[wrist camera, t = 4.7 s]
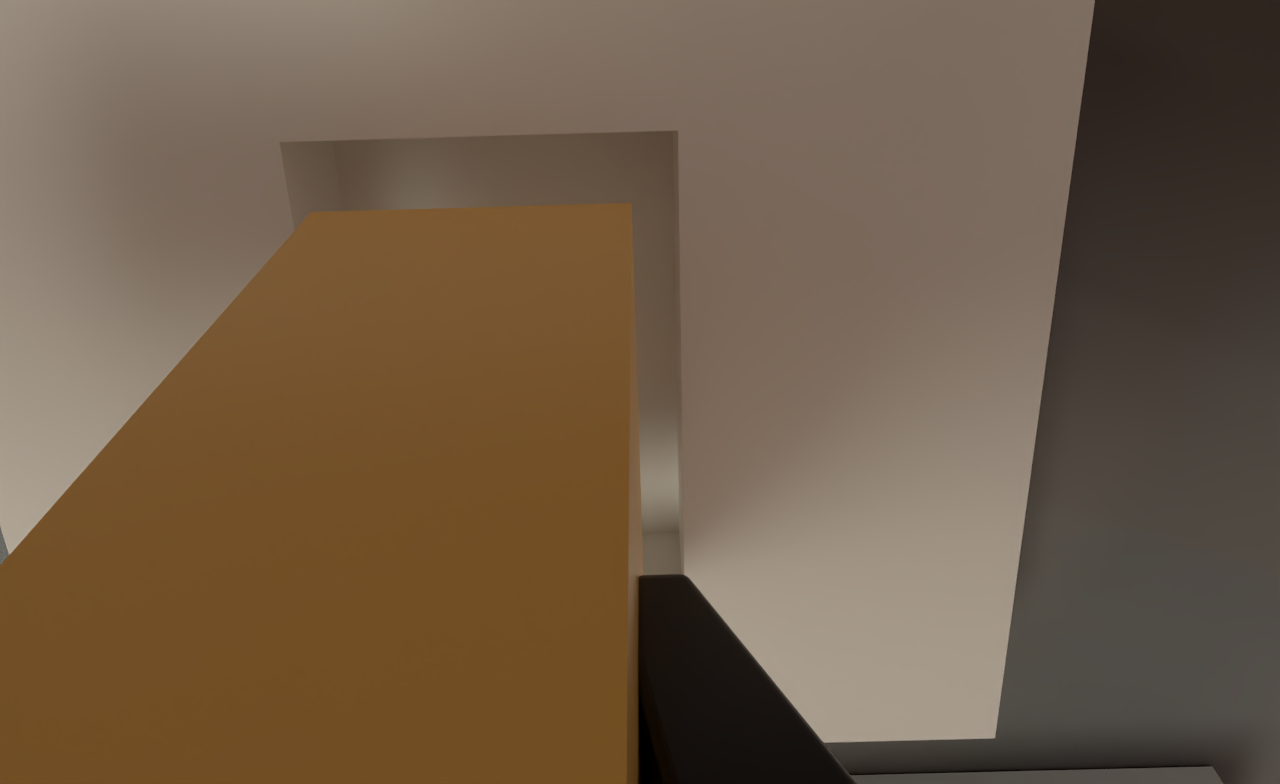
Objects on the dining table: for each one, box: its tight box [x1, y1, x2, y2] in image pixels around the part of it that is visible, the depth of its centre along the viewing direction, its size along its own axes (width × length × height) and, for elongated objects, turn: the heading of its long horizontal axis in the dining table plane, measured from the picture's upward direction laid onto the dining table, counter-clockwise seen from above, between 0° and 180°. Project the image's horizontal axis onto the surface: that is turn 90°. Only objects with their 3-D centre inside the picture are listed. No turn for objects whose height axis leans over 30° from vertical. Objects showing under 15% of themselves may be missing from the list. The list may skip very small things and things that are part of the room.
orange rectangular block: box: [0, 203, 644, 784], centre depth 8 cm, size 3×5×8 cm, turn 1°
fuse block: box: [0, 0, 1095, 743], centre depth 14 cm, size 12×10×2 cm
